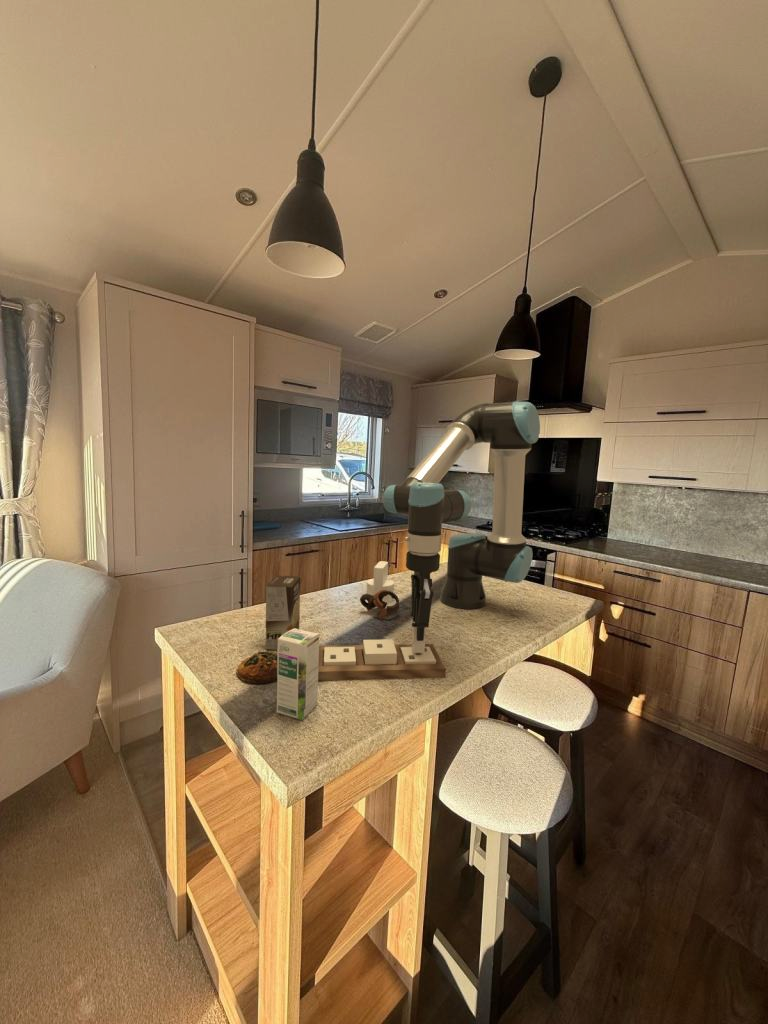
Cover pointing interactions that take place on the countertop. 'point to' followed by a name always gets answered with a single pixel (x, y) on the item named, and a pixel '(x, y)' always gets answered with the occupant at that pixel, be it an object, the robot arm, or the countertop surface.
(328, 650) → the tile two
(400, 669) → the board
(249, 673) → the bread roll
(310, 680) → the syrup box
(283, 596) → the coffee box
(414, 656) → the tile three
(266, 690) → the countertop surface
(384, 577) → the base with upright slab
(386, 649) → the tile one
